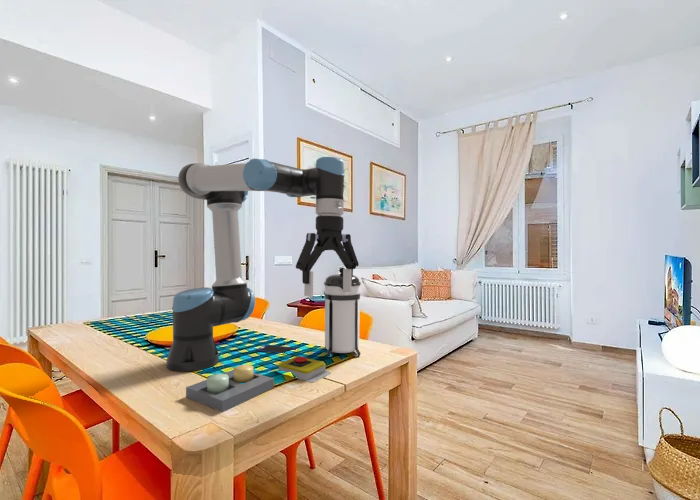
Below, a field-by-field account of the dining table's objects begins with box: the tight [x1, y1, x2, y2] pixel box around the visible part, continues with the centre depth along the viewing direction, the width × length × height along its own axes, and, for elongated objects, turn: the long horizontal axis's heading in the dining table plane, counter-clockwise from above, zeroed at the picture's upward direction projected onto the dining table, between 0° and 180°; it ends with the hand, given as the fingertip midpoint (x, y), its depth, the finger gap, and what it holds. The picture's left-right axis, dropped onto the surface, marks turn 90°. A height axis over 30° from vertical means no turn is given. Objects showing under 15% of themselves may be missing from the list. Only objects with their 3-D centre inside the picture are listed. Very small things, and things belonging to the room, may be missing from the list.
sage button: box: [206, 373, 229, 394], centre depth 88 cm, size 5×5×3 cm
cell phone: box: [255, 344, 299, 354], centre depth 127 cm, size 7×14×1 cm, turn 71°
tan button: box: [233, 364, 254, 383], centre depth 94 cm, size 5×5×3 cm
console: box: [185, 369, 275, 412], centre depth 91 cm, size 14×16×2 cm
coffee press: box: [323, 266, 361, 358], centre depth 126 cm, size 17×16×30 cm
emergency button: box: [278, 356, 332, 383], centre depth 105 cm, size 9×4×15 cm
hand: (328, 294), depth 97 cm, fingers open, 13 cm apart
